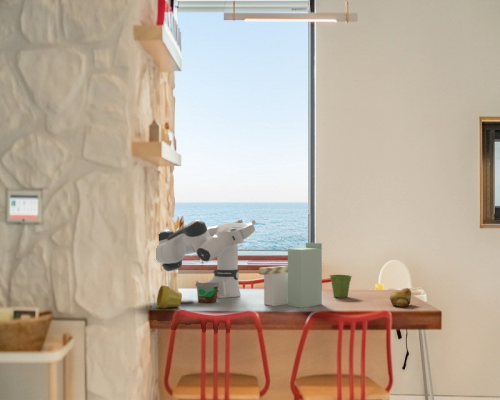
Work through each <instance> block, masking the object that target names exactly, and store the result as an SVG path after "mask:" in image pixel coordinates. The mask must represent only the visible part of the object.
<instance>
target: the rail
mask: <svg viewBox="0 0 500 400" xmlns="http://www.w3.org/2000/svg"><path fill="white" fill-rule="evenodd" d="M286 272H288V264H286V265H279V266H267V267H259V268H258V274H259V275H263V276H264V275H266V274H276V273H286Z"/></svg>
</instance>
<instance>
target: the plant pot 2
mask: <svg viewBox="0 0 500 400" xmlns="http://www.w3.org/2000/svg"><path fill="white" fill-rule="evenodd" d="M329 277H330V281H331V287H332V295H333V297H334V298H337V299H341V298H342V299H345V298H348V297H349V290H350V283H351V281H352V280H351V279H352V277H353V276H352V275H349V274H330V275H329Z"/></svg>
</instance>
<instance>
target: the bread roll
mask: <svg viewBox="0 0 500 400" xmlns="http://www.w3.org/2000/svg"><path fill="white" fill-rule="evenodd" d="M411 298H412V290H411V289H410V288H408V287H406V288H403V289H401V290H400V291H399V290H396V291H392V293H391V295H390V296H389V300H390V303H391V304H392V305H393V306H395V305H396V306H395V307H398V306H399V308H400V307H401V308H405V307H407V305H408V306H409V305H410V304H411Z"/></svg>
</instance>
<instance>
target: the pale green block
mask: <svg viewBox="0 0 500 400" xmlns="http://www.w3.org/2000/svg"><path fill="white" fill-rule="evenodd" d="M322 245H323V243H321V242H319V243H318V242H305V247H297V248H296V247H294V248H287V265H288V304H287V306H289V307H295V308H300V309H303V308H311V307H315V306H322V305H323V302H322V301H323V296H322V295H323V285H322V283H323V281H322V280H323V279H322V278H323V274H322V272H323V269H322V264H323V263H322V259H323V257H322V256H323V255H322V254H323V253H322V252H323V251H322V249H323V248H322Z"/></svg>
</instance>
